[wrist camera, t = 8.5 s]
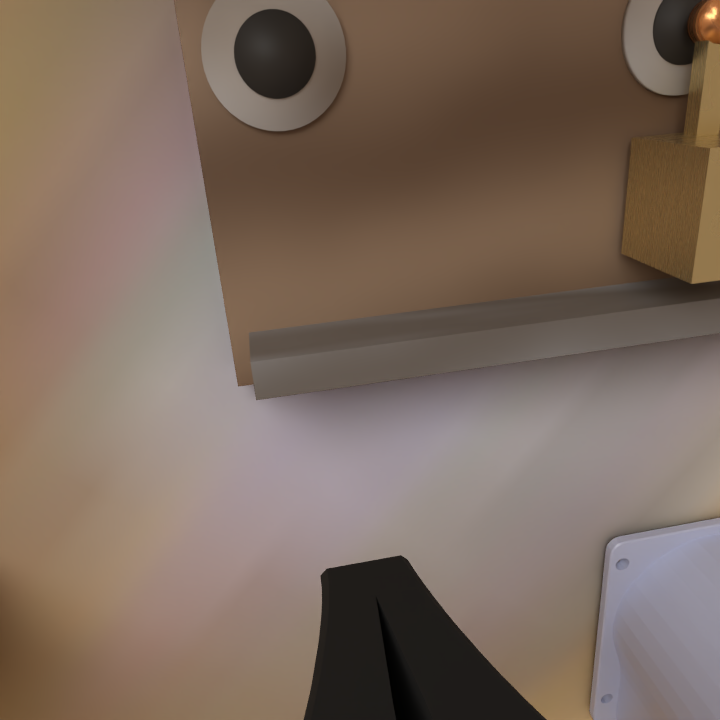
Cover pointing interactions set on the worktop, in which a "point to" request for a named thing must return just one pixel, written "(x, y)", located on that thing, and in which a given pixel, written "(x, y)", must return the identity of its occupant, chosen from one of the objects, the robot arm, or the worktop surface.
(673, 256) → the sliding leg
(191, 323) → the worktop surface
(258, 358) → the hole plate
